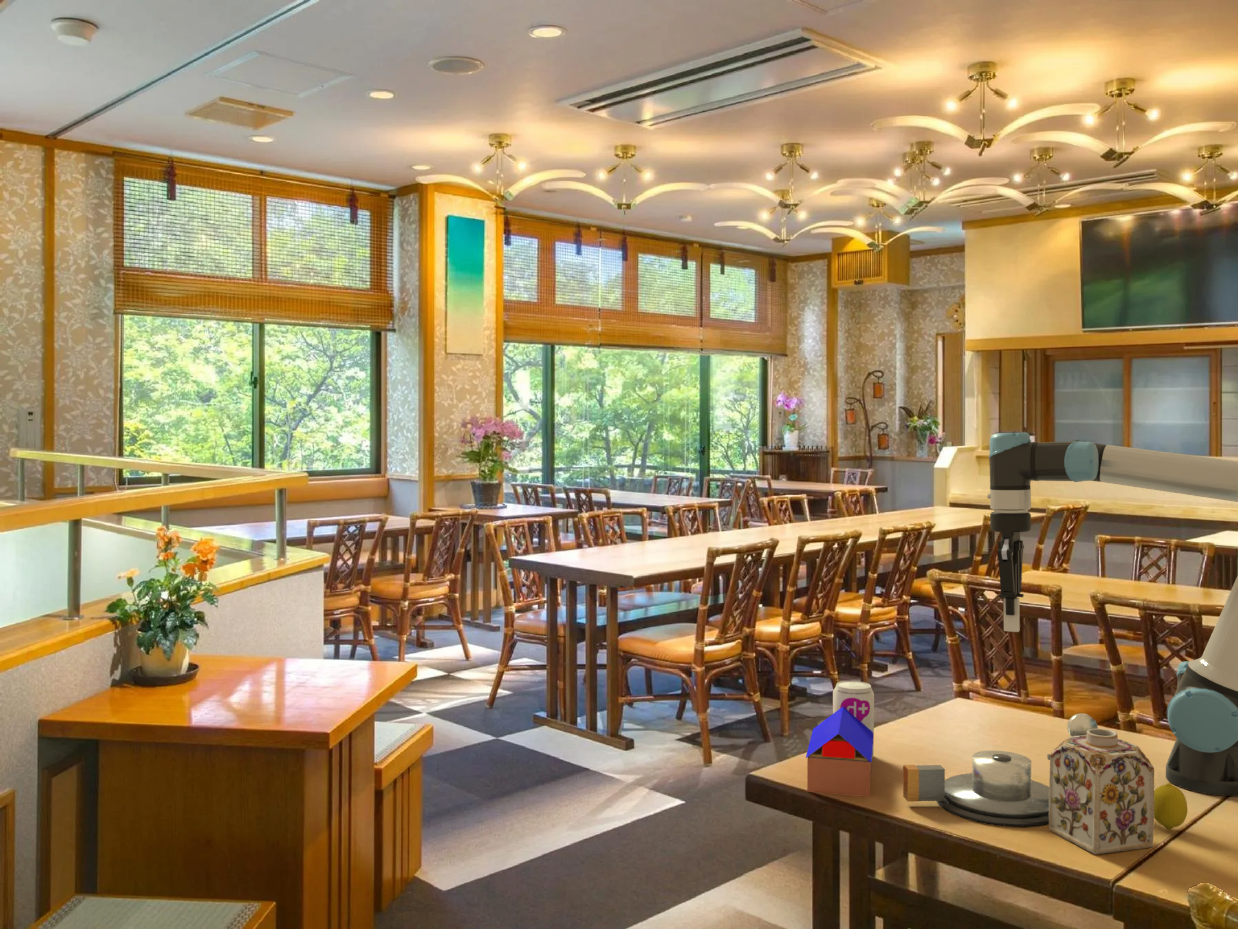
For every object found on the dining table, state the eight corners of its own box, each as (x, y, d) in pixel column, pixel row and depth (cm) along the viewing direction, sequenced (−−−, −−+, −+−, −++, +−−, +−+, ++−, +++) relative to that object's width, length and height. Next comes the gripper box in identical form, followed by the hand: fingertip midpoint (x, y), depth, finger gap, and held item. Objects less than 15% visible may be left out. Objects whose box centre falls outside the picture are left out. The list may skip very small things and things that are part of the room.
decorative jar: (1155, 848, 174) (1157, 738, 174) (1095, 857, 171) (1097, 745, 170) (1103, 822, 186) (1104, 719, 185) (1045, 830, 182) (1047, 724, 182)
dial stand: (1091, 797, 198) (1092, 711, 197) (1099, 805, 194) (1100, 717, 193) (1043, 796, 198) (1045, 710, 198) (1051, 804, 194) (1052, 716, 194)
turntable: (1030, 778, 205) (1030, 748, 205) (1079, 816, 185) (1080, 783, 185) (889, 780, 204) (889, 750, 203) (923, 819, 184) (923, 785, 183)
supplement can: (873, 764, 217) (874, 690, 217) (832, 761, 219) (832, 688, 219) (873, 752, 225) (873, 681, 225) (832, 750, 227) (833, 679, 227)
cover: (1016, 782, 199) (1017, 748, 199) (1040, 801, 189) (1041, 765, 189) (963, 783, 198) (964, 749, 198) (984, 802, 189) (985, 766, 188)
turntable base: (1084, 804, 195) (1084, 798, 195) (1034, 837, 179) (1034, 831, 179) (969, 776, 210) (969, 771, 210) (913, 805, 194) (913, 799, 194)
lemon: (1143, 824, 185) (1144, 778, 184) (1174, 823, 185) (1175, 777, 185) (1162, 837, 179) (1163, 789, 179) (1194, 835, 180) (1195, 788, 179)
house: (873, 765, 218) (873, 708, 217) (871, 798, 198) (871, 735, 198) (813, 760, 221) (813, 704, 220) (805, 793, 201) (805, 731, 201)
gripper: (997, 508, 219) (999, 624, 219) (982, 513, 208) (984, 635, 208) (1036, 509, 215) (1038, 627, 215) (1023, 513, 204) (1025, 638, 204)
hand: (1011, 630), depth 212 cm, fingers closed
